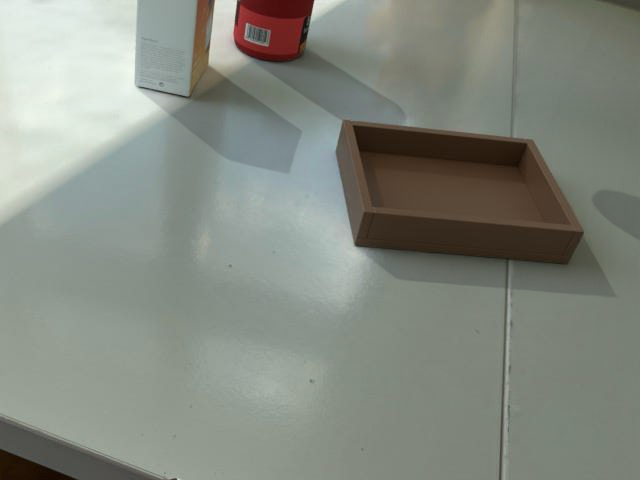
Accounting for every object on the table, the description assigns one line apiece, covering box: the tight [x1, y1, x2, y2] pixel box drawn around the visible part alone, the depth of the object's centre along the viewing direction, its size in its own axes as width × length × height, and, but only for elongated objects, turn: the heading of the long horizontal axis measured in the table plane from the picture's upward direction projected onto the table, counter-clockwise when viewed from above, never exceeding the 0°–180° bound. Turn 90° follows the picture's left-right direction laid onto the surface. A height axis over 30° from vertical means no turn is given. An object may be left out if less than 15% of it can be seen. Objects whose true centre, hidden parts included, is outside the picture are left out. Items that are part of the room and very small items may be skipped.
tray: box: [335, 119, 585, 265], centre depth 66 cm, size 18×14×3 cm
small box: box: [133, 0, 216, 97], centre depth 74 cm, size 8×6×10 cm
